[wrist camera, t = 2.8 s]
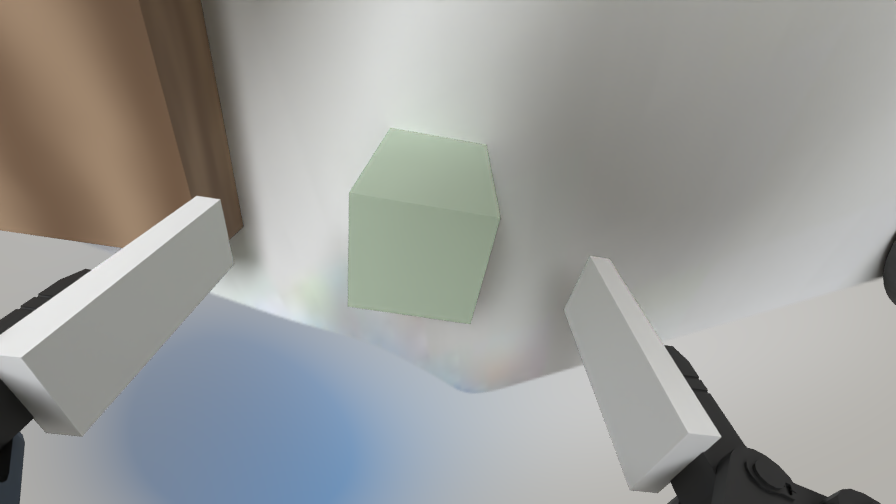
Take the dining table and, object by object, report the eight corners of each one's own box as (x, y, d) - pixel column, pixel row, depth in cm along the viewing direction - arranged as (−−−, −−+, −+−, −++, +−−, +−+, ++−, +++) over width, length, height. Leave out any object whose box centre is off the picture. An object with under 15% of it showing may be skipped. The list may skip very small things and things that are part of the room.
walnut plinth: (192, -79, 14) (109, -108, 11) (246, 223, 22) (207, 260, 19) (-189, -154, 13) (-406, -212, 10) (7, 187, 21) (-79, 218, 18)
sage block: (486, 144, 18) (500, 217, 12) (467, 227, 21) (470, 323, 14) (390, 127, 18) (349, 192, 11) (384, 213, 21) (347, 306, 14)
